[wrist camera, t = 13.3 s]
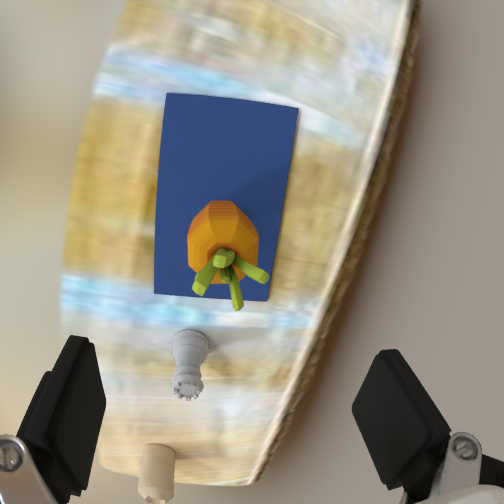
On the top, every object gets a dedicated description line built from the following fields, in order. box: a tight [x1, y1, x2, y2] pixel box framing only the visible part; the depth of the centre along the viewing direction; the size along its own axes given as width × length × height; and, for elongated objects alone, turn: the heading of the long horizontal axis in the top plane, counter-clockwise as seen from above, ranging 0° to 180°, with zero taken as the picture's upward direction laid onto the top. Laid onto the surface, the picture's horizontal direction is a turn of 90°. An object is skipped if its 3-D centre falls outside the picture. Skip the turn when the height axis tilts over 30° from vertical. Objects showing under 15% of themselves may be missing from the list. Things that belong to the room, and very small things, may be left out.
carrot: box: [187, 201, 270, 311], centre depth 23 cm, size 5×5×15 cm
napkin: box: [154, 93, 298, 301], centre depth 30 cm, size 20×12×1 cm, turn 172°
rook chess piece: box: [170, 330, 209, 401], centre depth 33 cm, size 4×4×8 cm
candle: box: [138, 444, 175, 504], centre depth 40 cm, size 6×6×10 cm
